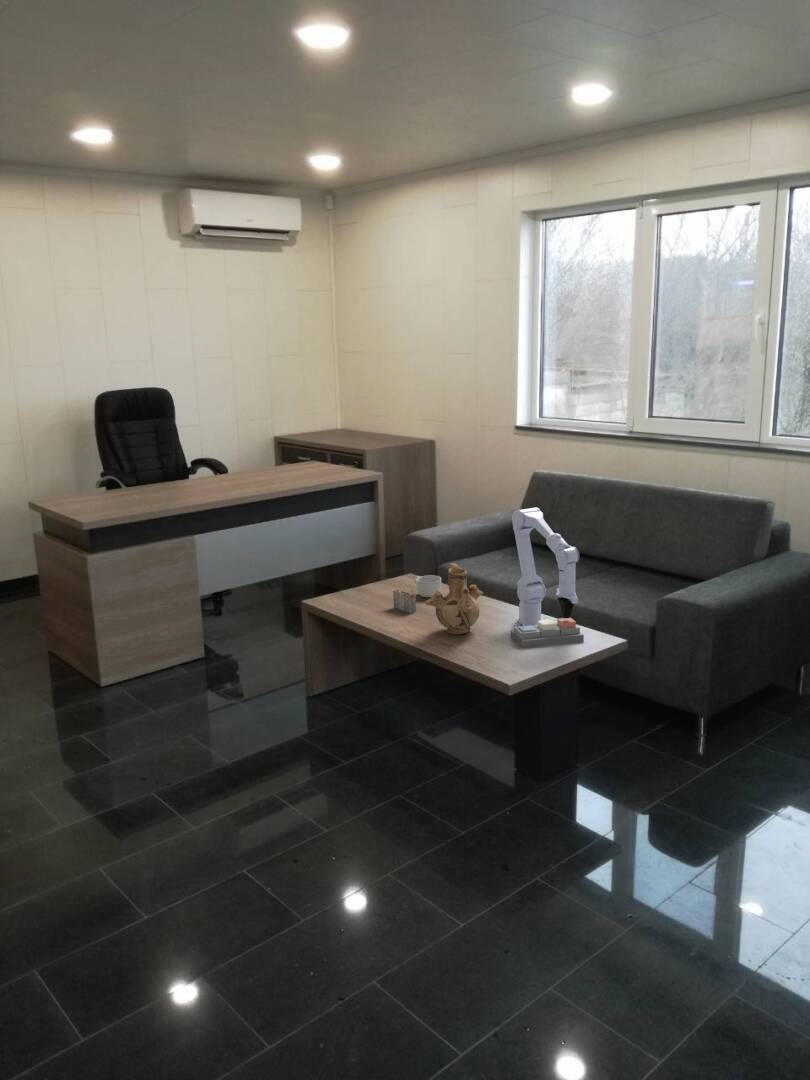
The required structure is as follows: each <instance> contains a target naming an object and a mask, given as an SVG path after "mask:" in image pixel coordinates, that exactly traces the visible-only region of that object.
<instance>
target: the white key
mask: <svg viewBox="0 0 810 1080" xmlns="http://www.w3.org/2000/svg"><path fill="white" fill-rule="evenodd" d="M556 623H557V622H555V621H553V620H552V619H541V620H540V621H538V627H539V628H540V629H541V630H542V631H543V630H553V629H556Z"/></svg>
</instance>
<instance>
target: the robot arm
mask: <svg viewBox="0 0 810 1080" xmlns="http://www.w3.org/2000/svg"><path fill="white" fill-rule="evenodd" d="M511 522H512V529H513V532H514V537H515V542H516V548H517V549H516V550H517V555H518V560H519V565H520V570H521V571H520V572H521V577H520V579H519V580H518V581H517V582H516V584H517V585H516V586H517V591H516V595H517V598H518V599H519V600H520V601H519V604H518V618H517V619H516V621H517V622H518V623H519V624H521V626H529V625H531V626H534V625H538V621H540V620H542V601H543V600H544V598H545V596H546V593H547V589H546V586H545V585H544V582H543V581H544V580H543V578H542V577H540V576H539V575H538V574H537V571H536V565H535V559H534V553H533V548H532V547H533V546H532V543H531V538H530V537H531V536H530V534H531V532H532V531H533V530H534V529H535V530H536V531H537V532H538V533H540V535H541V536H543V538H544V539H545V540H546V542H545V543H546V545H547V547H548V548H549V549H550V550H551V551H552V553H554V555H555V559H556V560H555V561H556V562H557V567H558V587H556V590H555V591H556V592H555V596H556V597H557V602H558V604H559V606H560V609H561V613H562V618H571V616H572V613H573V609H574V606H575V605H576V604H579V597H577V593H576V568H577V567H576V563H578V562H579V560H580V552H579V549H578V548H577V547H576V546H571V544H570V545H569V543H567V541H565V539H564V538H563V536H562V535H561V534H560V533H557V532H556V533H555V532H553V530H552V528H551V527H550V525H548V523H547V522H546V521H545V519H544V513H543V512H542V511H541V509H540V508H539V507H536V506H535V507H531V508H530V507H529V508H524V509H516V510H514V512H513V513H512V515H511Z"/></svg>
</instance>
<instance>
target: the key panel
mask: <svg viewBox="0 0 810 1080" xmlns="http://www.w3.org/2000/svg"><path fill="white" fill-rule="evenodd" d="M555 623H556V629H553V630H543V631H542V630H541V629H540V628H539V627H538V625H534V626H533V627H534V628H535V629H536V631H532V632H521V631H520V630H519V629H518V627H519V626H514V627H513V630H510V639H512V640H513V641H514V642H515V643H516V644H518V645H519V647H521V649H526V648H534V647H545V646H553V645H562V644H563V645H564V644H565V645H566V644H572V643H573V644H574V643H581V642H582V643H583V642H584V640H585V639H584V638H585V637H584V636H585V635H584V634H583V633H582V632H581V628H580V626H578V625H577V624H576V627H573V628H563V629H562V628H561V627H559V626H558V625H557V622H555Z"/></svg>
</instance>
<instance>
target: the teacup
mask: <svg viewBox="0 0 810 1080" xmlns="http://www.w3.org/2000/svg"><path fill="white" fill-rule="evenodd" d="M414 583H415V585H416V592H417V594H418V595H419V596H421V598H423V597H432V596H433V595H434V594H435V592H436V591H438V592H440V593H441V592H442V577H441V576H439V575H434V574H433V575H431V574H430V575H423V576H422V575H421V576H419V575H417V576H415V577H414Z"/></svg>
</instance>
